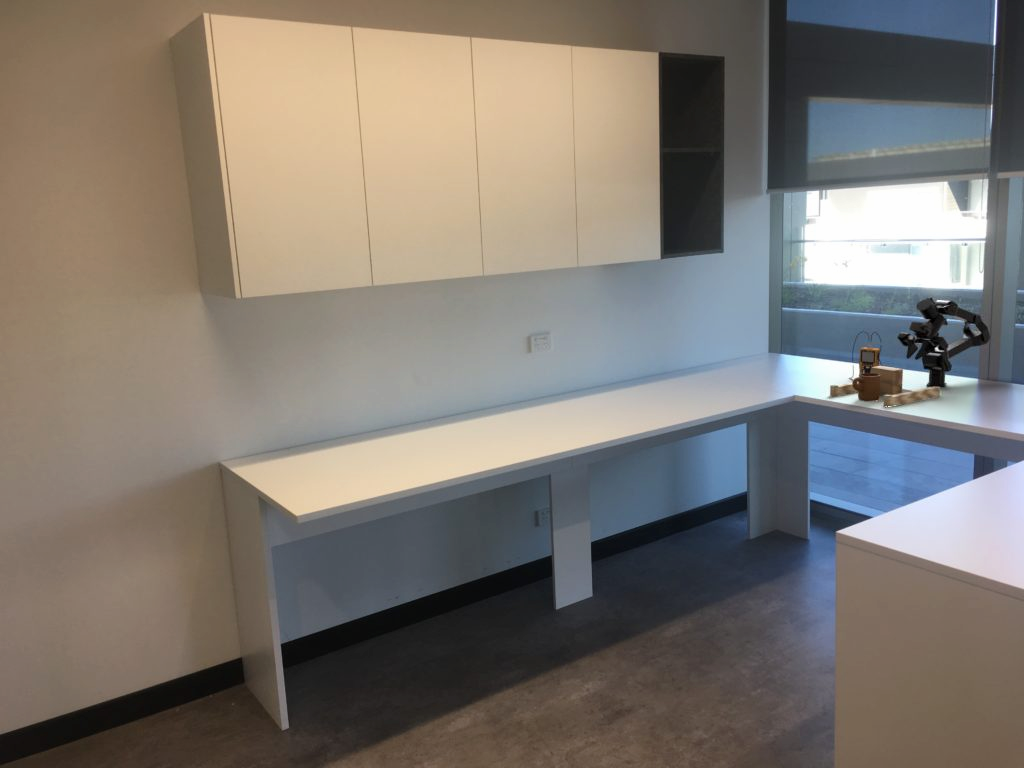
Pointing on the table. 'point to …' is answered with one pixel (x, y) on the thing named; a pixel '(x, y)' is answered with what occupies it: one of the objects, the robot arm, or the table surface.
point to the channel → (890, 399)
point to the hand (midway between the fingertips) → (911, 358)
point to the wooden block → (889, 379)
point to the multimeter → (867, 357)
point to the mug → (868, 386)
